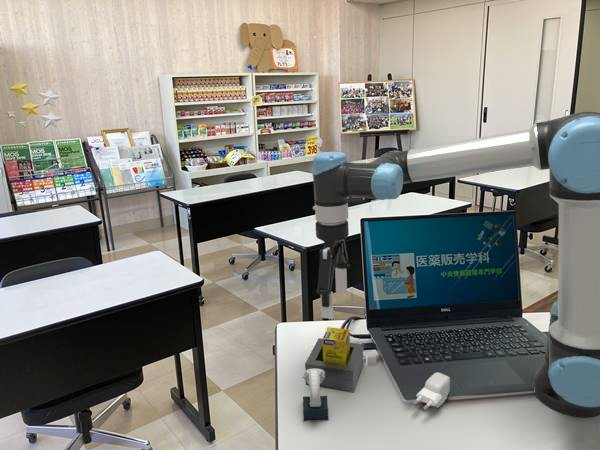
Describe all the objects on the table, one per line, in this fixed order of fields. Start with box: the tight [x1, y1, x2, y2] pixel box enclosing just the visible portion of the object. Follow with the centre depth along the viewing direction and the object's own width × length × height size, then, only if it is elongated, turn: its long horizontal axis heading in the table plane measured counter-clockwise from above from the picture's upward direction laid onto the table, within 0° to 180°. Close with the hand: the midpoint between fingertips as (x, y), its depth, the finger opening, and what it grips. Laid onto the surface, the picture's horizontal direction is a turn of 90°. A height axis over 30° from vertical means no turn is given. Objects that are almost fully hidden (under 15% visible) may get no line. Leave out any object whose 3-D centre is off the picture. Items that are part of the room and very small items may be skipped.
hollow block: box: [304, 337, 364, 393], centre depth 120 cm, size 12×12×6 cm
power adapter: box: [412, 371, 451, 411], centre depth 107 cm, size 11×5×6 cm, turn 137°
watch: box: [301, 369, 329, 422], centre depth 106 cm, size 6×8×11 cm
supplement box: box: [321, 326, 351, 365], centre depth 119 cm, size 6×6×11 cm
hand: (334, 304), depth 115 cm, fingers open, 13 cm apart
